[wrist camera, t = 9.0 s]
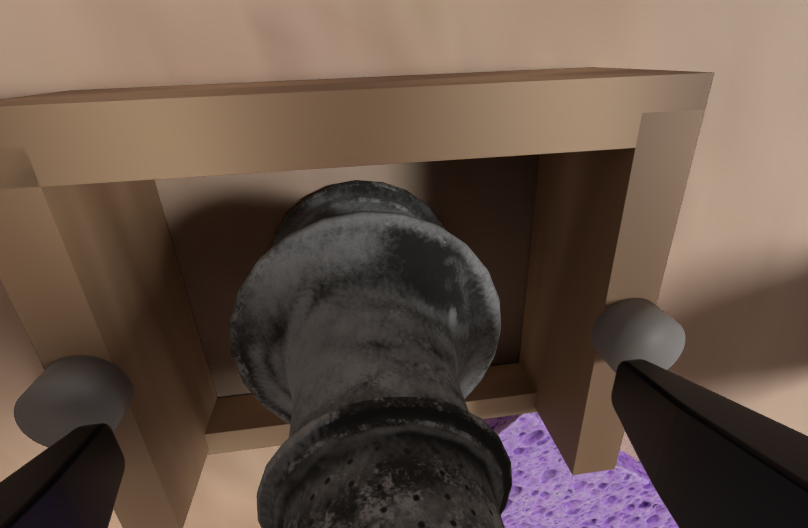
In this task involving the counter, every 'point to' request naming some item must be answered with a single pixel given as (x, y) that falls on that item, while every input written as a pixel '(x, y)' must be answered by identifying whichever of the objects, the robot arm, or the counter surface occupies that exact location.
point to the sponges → (572, 485)
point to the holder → (313, 149)
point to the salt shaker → (372, 366)
